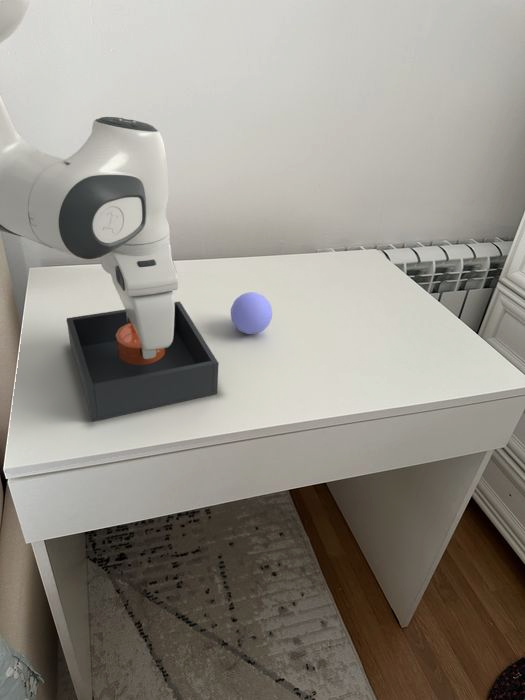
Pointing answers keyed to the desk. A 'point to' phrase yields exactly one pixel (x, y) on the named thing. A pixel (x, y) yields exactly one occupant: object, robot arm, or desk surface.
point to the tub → (139, 366)
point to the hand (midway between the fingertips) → (141, 340)
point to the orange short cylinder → (133, 347)
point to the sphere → (251, 313)
